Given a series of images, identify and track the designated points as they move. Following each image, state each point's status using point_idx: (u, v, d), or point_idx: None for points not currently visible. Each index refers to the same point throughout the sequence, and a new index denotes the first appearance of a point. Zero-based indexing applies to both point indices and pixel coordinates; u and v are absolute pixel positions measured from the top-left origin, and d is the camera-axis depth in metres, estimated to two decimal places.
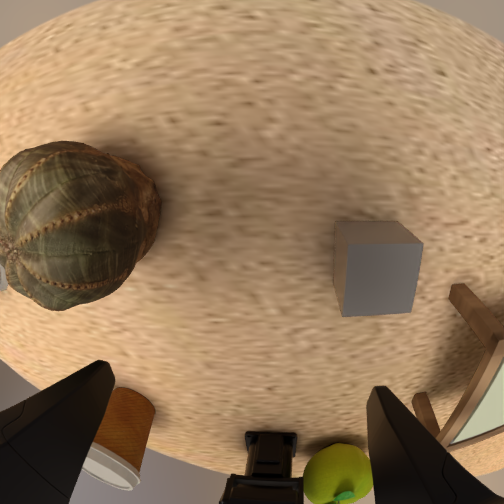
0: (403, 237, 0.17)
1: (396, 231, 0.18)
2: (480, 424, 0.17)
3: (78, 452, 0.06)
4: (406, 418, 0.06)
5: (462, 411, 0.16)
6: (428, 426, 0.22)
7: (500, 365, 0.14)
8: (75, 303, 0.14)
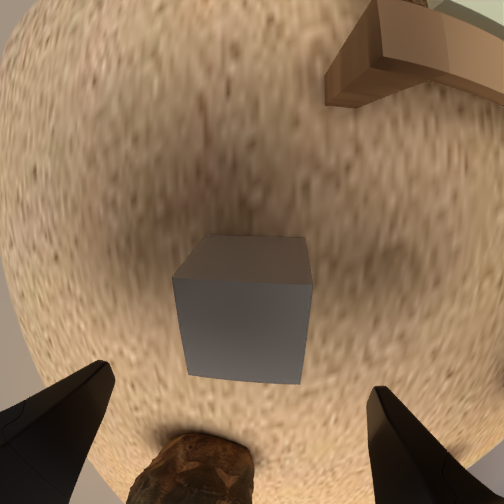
0: None
1: None
2: None
3: (78, 452, 0.06)
4: (406, 418, 0.06)
5: None
6: None
7: (484, 19, 0.03)
8: None
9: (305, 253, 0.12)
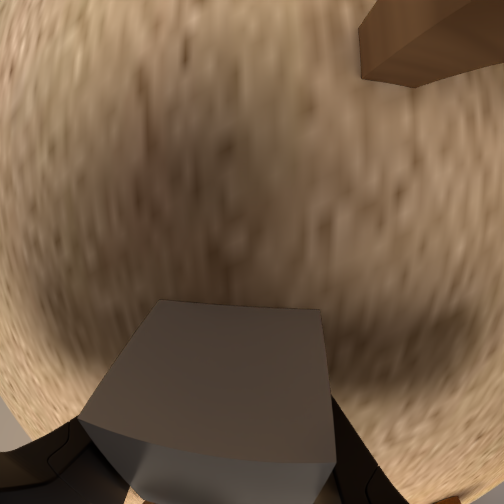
0: None
1: None
2: None
3: None
4: (339, 424, 0.06)
5: None
6: None
7: None
8: None
9: (322, 358, 0.06)
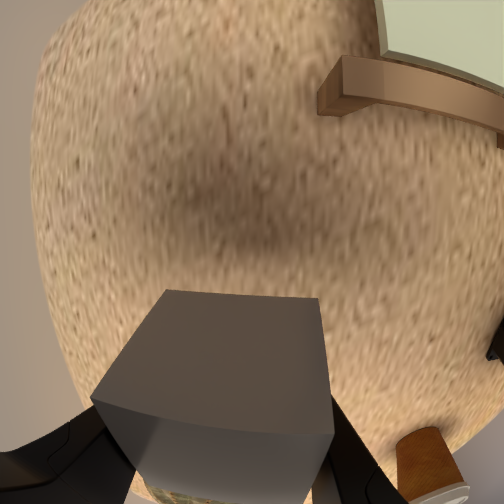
0: None
1: None
2: None
3: (127, 472, 0.06)
4: (339, 424, 0.06)
5: None
6: None
7: (416, 58, 0.07)
8: None
9: (320, 341, 0.07)
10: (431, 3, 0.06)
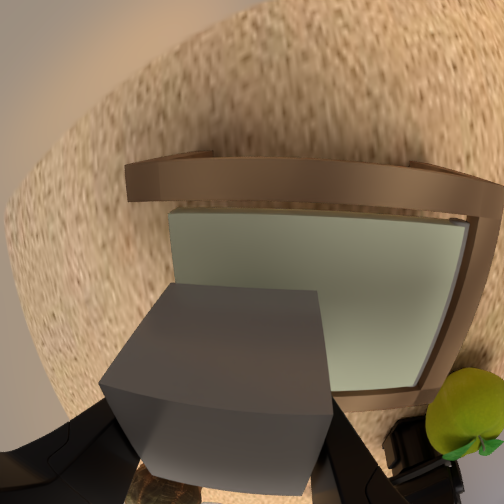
0: None
1: None
2: (387, 356, 0.12)
3: (127, 471, 0.06)
4: (339, 424, 0.06)
5: None
6: None
7: None
8: None
9: (319, 329, 0.07)
10: None
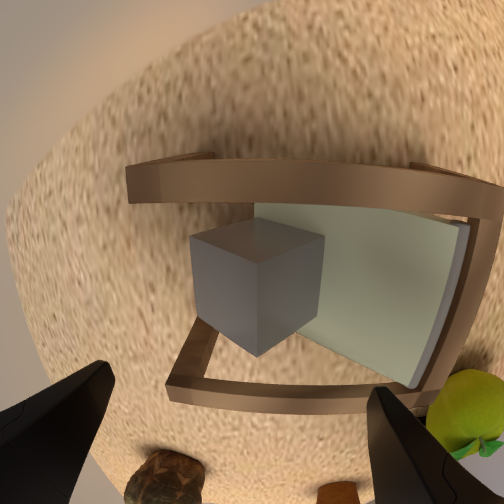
0: None
1: None
2: (384, 338, 0.14)
3: (78, 452, 0.06)
4: (406, 418, 0.06)
5: (303, 413, 0.14)
6: None
7: None
8: None
9: (298, 245, 0.14)
10: None
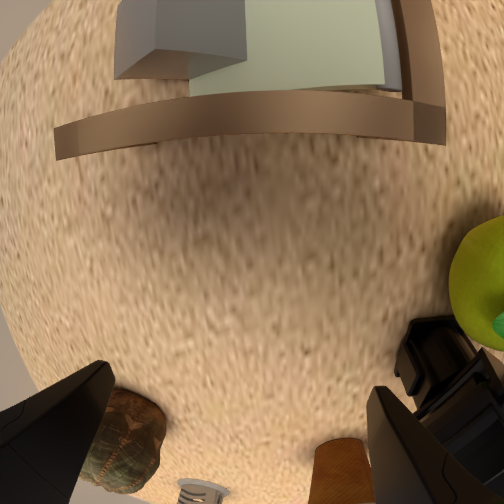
0: None
1: None
2: (326, 32, 0.09)
3: (78, 452, 0.06)
4: (406, 418, 0.06)
5: (224, 131, 0.09)
6: None
7: None
8: (126, 472, 0.20)
9: None
10: None
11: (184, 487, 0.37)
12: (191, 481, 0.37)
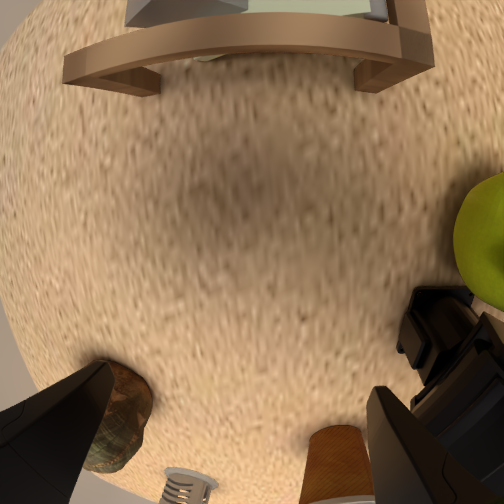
0: None
1: None
2: None
3: (78, 452, 0.06)
4: (406, 418, 0.06)
5: (221, 44, 0.09)
6: (376, 70, 0.11)
7: None
8: (104, 447, 0.19)
9: None
10: None
11: (171, 476, 0.36)
12: (178, 470, 0.36)
